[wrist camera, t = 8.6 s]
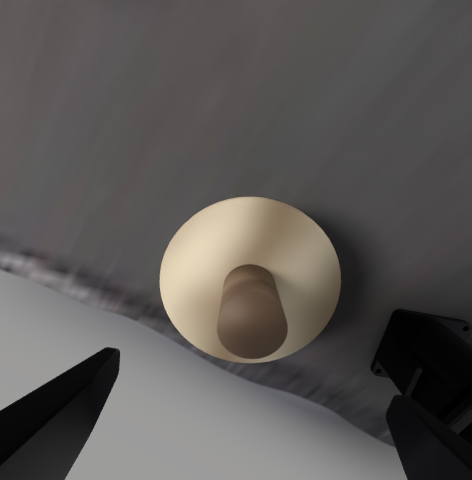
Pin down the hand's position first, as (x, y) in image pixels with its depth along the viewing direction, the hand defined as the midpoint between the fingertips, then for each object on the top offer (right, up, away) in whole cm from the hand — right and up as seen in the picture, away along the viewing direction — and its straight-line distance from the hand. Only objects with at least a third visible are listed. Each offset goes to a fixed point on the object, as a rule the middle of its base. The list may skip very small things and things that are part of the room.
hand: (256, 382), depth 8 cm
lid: (0, +2, +8) cm, 8 cm away
